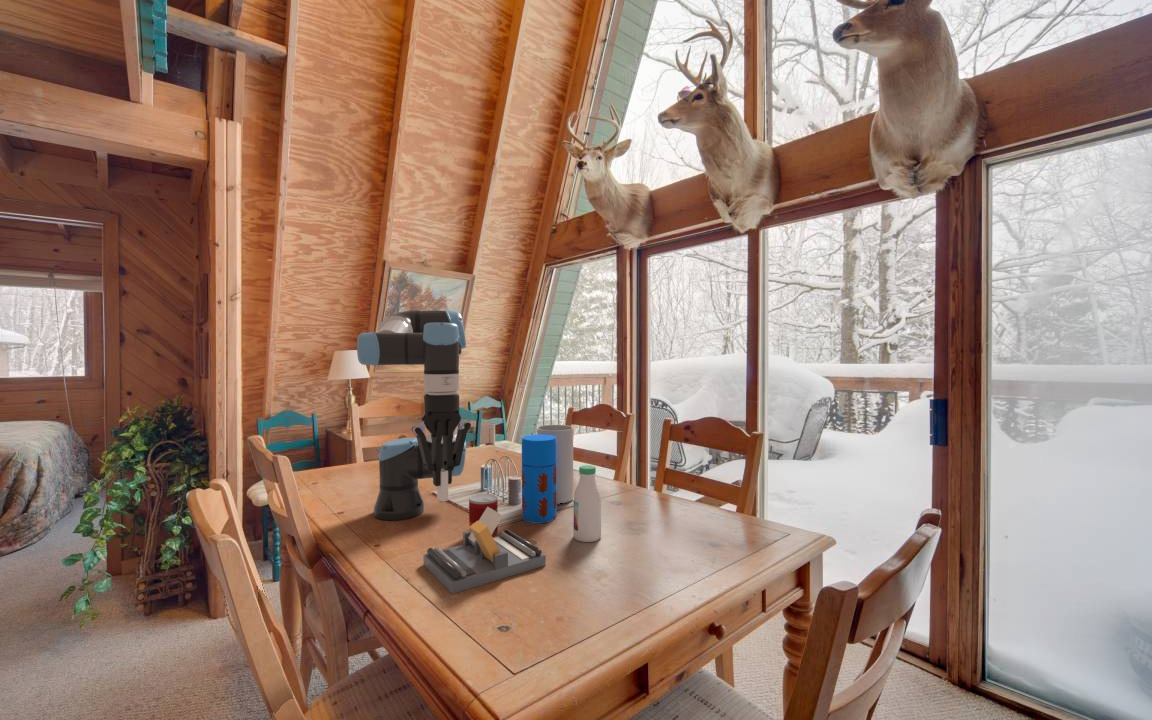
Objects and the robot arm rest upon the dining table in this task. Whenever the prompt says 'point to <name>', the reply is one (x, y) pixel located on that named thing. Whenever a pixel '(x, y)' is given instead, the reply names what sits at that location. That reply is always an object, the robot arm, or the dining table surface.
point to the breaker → (487, 522)
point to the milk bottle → (587, 506)
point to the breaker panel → (482, 561)
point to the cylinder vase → (562, 459)
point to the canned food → (482, 508)
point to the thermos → (539, 478)
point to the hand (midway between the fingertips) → (442, 499)
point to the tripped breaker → (484, 540)
